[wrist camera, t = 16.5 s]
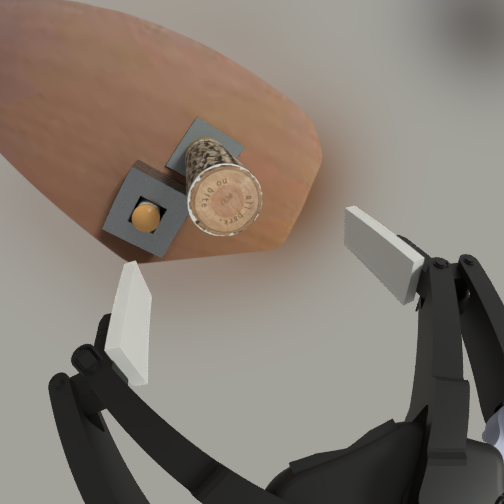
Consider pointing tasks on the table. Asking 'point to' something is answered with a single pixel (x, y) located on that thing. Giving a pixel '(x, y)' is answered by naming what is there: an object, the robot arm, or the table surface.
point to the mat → (196, 132)
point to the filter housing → (158, 191)
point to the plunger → (146, 216)
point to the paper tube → (219, 189)
